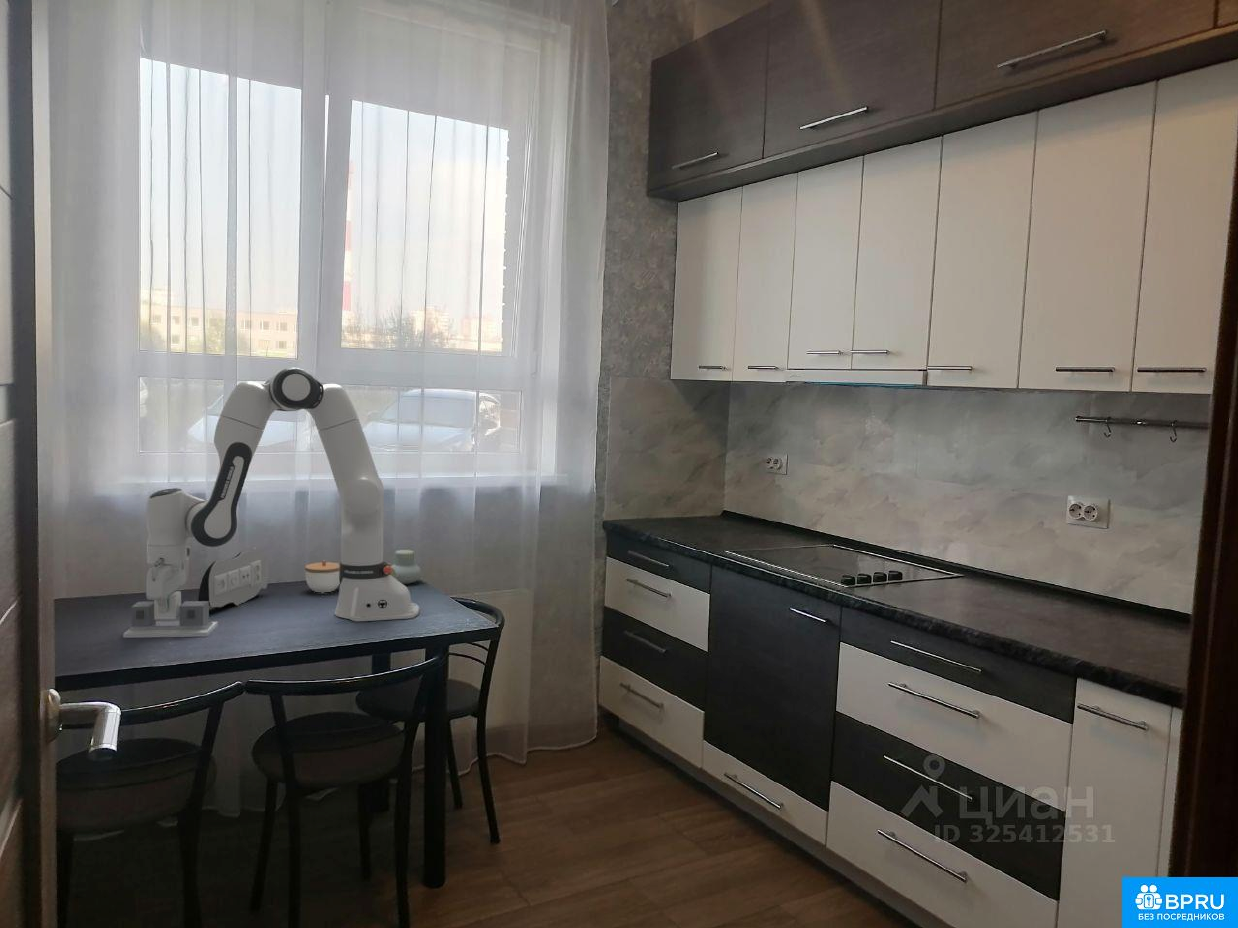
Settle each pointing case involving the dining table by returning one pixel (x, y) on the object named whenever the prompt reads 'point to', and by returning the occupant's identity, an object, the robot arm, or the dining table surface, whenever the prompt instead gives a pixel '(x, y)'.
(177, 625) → the grey rectangular block
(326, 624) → the dining table surface
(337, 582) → the lidded jar
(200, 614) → the mounted modules
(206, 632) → the back plate
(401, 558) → the air freshener
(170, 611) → the din module
